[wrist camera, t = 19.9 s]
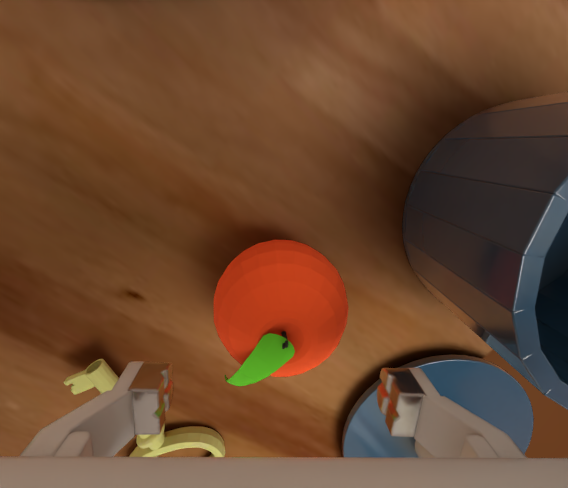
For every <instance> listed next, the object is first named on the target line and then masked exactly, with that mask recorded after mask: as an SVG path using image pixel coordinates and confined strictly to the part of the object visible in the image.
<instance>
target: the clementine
mask: <svg viewBox="0 0 568 488" xmlns="http://www.w3.org/2000/svg"><path fill="white" fill-rule="evenodd" d="M347 316H348V302H347V297H346V291H345V287H344V283H343V281H342V279H341V277H340V275H339V273H338V271H337V269H336V268H335V267H334V266H333V265H332V264H331V263H330V262H329V261H328V260H327V258H326V257H325V256H323V255H322V254H321V253H320V252H318V251H316V250H315V249H313V248H311V247H310V246H308V245H306V244H303V243H299V242H296V241H292V240H271V241H266V242H262V243H258V244H256V245H254V246H252V247H250V248H248V249H246V250H244V251H243V252H241V253H240V254H239V255H238V256H237V257H236V258H235V259H234V260H233V261H231V263H230V264H229V265H228V267H227V268H226V270H225V271H224V273H223V274H222V276H221V278H220V279H219V281H218V284H217V288H216V291H215V295H214V323H215V326H216V329H217V332H218V336H219V338H220V339H221V341H222V343H223V344H224V346H225V347H226V349H227V350H228V352H229V353H230V355H231V356H232V357H233V358H234V359H235V360H237V361H238V362H239V363H240V364H241V365H242V366H241V367H240V369H239V370H238V371H237V372H236V373H235V374H234V375H233V376H232V377H231V378H230V379H228V378H227V377H226V375H225V381H227V382H228V383H230V384H232V385H236V386H244V385H249V384H252V383H255V382H258V381H260V380H262V379H264V378H266V377H268V376H273V377H288V376H293V375H298V374H301V373H304V372H306V371H308V370H310V369H312V368H314V367H316V366H318V365H319V364H320V363H322V362H323V361H324V360H325V359H327V358H328V357H329V356H330V355H331V353H332V352H333V351H334V350H335V348H336V347H337V346H338V344H339V341H340V339H341V337H342V334H343V332H344V329H345V326H346V323H347Z"/></svg>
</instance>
